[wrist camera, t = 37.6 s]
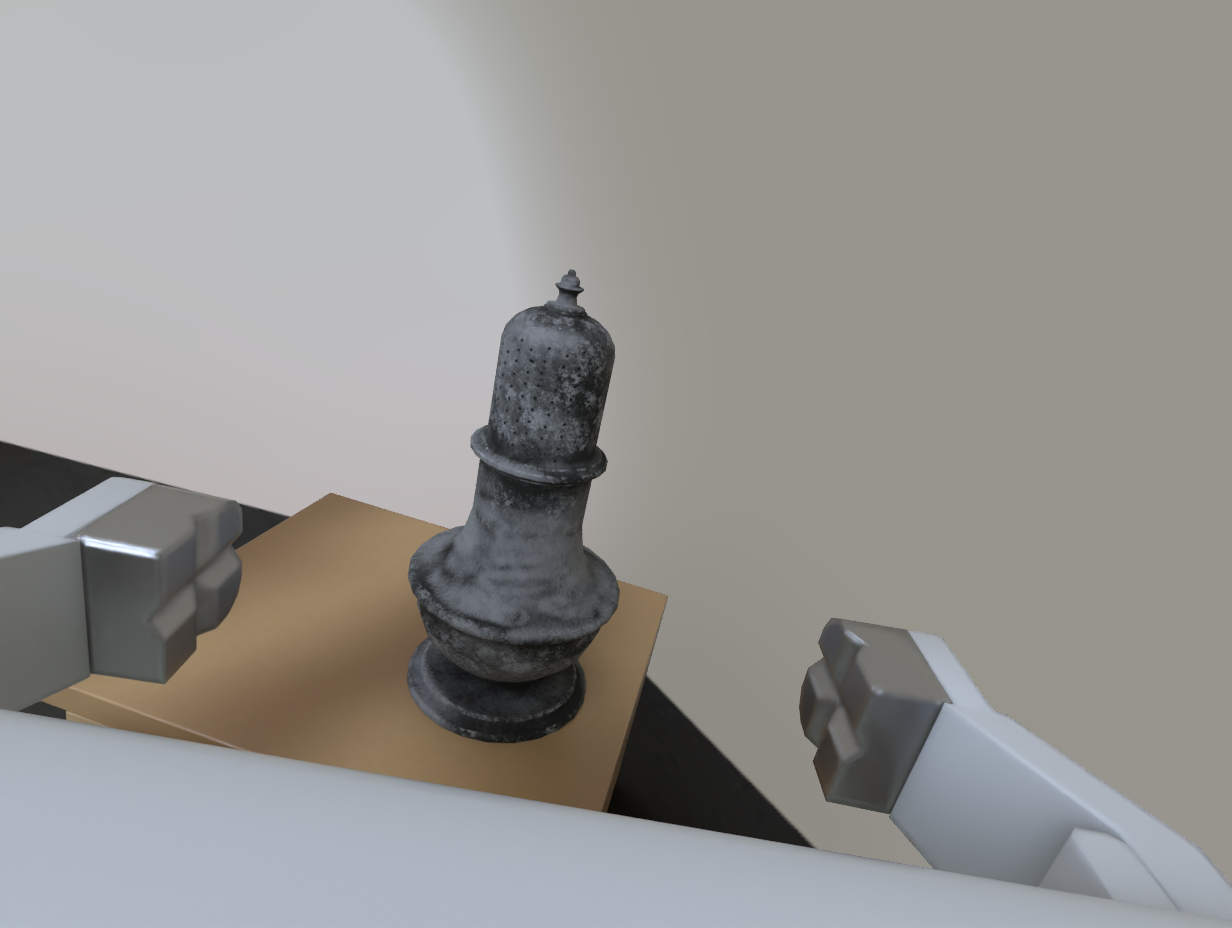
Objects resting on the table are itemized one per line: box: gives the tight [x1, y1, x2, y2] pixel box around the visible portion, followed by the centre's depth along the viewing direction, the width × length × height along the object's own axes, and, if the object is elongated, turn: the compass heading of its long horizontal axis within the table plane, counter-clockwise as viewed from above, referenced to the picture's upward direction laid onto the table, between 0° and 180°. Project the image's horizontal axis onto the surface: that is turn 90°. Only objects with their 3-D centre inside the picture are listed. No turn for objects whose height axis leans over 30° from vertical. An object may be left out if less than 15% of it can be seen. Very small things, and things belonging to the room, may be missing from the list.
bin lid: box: [41, 493, 668, 812], centre depth 23 cm, size 14×13×1 cm
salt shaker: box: [407, 270, 620, 743], centre depth 19 cm, size 6×6×12 cm
